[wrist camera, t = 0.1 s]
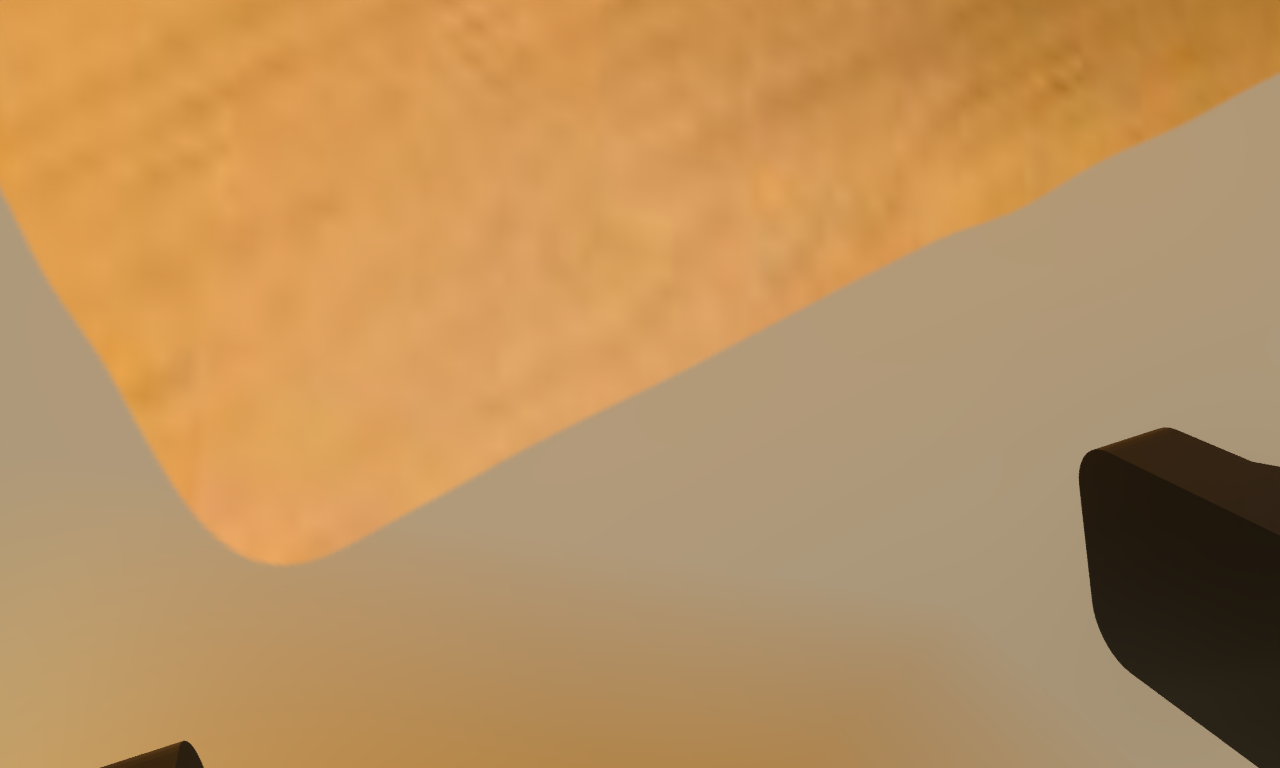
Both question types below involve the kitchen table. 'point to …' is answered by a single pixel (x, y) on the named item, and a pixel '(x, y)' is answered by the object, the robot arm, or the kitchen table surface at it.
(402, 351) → the kitchen table surface
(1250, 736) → the robot arm
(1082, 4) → the kitchen table surface
